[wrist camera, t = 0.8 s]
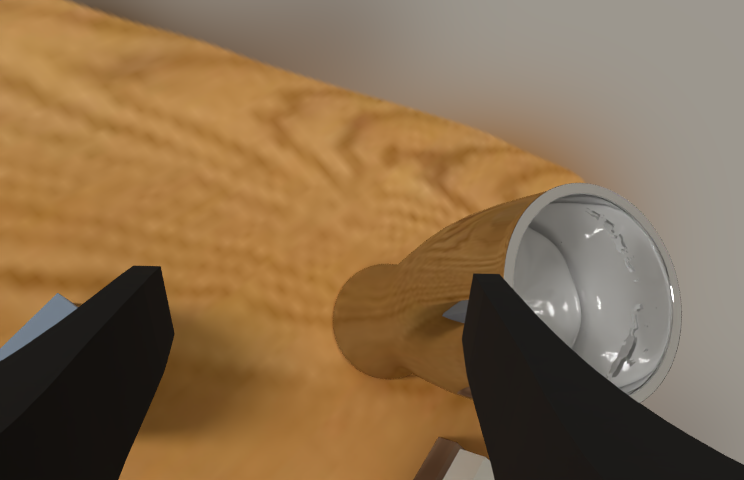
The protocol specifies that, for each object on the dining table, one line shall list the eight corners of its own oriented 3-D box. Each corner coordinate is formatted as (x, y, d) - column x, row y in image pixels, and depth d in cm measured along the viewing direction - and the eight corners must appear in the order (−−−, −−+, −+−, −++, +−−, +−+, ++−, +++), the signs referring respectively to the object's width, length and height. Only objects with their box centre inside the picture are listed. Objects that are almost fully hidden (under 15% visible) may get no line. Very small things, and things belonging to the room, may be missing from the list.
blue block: (77, 437, 22) (62, 456, 18) (-4, 379, 22) (-38, 385, 18) (146, 359, 24) (147, 361, 20) (73, 303, 23) (57, 293, 19)
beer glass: (452, 373, 30) (710, 392, 16) (334, 400, 27) (527, 449, 13) (430, 250, 31) (657, 170, 17) (314, 263, 28) (476, 180, 14)
